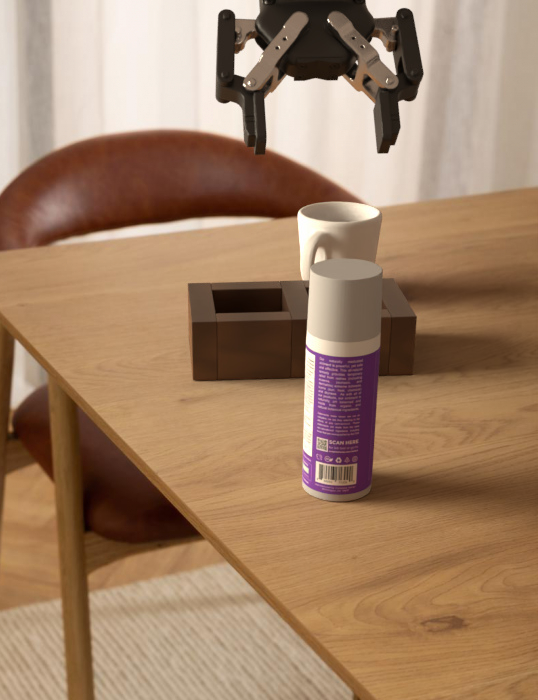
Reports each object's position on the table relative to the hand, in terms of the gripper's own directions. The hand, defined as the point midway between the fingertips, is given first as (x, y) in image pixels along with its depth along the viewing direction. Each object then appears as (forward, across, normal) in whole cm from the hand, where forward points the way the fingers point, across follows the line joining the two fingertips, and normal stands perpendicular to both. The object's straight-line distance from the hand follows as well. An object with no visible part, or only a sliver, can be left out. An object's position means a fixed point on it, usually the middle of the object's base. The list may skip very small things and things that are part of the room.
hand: (323, 148), depth 81 cm
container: (+22, 0, +6) cm, 23 cm away
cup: (-5, +5, +34) cm, 34 cm away
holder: (+5, 0, +23) cm, 23 cm away
